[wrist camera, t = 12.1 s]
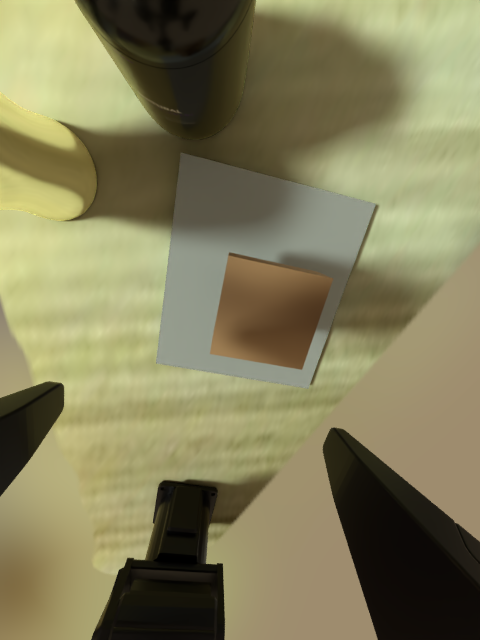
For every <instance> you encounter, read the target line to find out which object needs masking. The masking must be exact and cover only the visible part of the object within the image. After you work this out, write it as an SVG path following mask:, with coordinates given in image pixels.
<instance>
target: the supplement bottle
mask: <svg viewBox="0 0 480 640" xmlns="http://www.w3.org/2000/svg"><path fill="white" fill-rule="evenodd" d="M75 2H76V4H77V5H78V7H79V9H80V10H81V12H82V13H83V15H84V16H85V18H86V19H87V21H88V23H89V24H90V26H91V27H92V29H93V30H94V32H95V33H96V35H97V36H98V38H99V39H100V41H101V42H102V44H103V45H104V47H105V49H106V50H107V52H108V53H109V55H110V56H111V58H112V59H113V61H114V62H115V64H116V65H117V67H118V68H119V70H120V72H121V73H122V75H123V76H124V78H125V79H126V81H127V82H128V84H129V85H130V87H131V88H132V90H133V91H134V93H135V95H136V96H137V98H138V99H139V101H140V102H141V104H142V105H143V106H144V108H145V109H146V111H147V112H148V113H149V115H150V116H151V117H152V118H153V119H154V120H155V122H156V123H157V124H159V125H160V126H161V127H162V128H163V129H165V130H166V131H168V132H169V133H171V134H173V135H175V136H178V137H180V138H184V139H191V140H197V139H204V138H207V137H210V136H212V135H214V134H216V133H218V132H219V131H221V130H222V129H223V128H224V127H225V126H226V125H227V124H228V123H229V122H230V120H231V119H232V118H233V116H234V115H235V113H236V111H237V109H238V107H239V104H240V101H241V98H242V95H243V90H244V85H245V79H246V72H247V64H248V57H249V49H250V42H251V34H252V27H253V19H254V12H255V4H256V0H75Z"/></svg>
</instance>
